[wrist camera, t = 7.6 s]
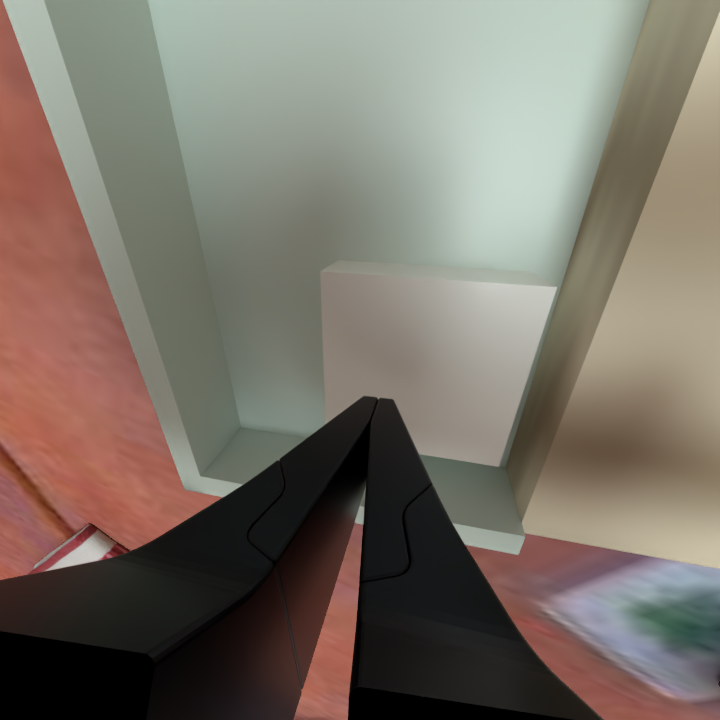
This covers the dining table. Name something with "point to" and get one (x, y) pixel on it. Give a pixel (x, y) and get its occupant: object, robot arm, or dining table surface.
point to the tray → (316, 186)
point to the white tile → (434, 348)
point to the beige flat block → (639, 321)
